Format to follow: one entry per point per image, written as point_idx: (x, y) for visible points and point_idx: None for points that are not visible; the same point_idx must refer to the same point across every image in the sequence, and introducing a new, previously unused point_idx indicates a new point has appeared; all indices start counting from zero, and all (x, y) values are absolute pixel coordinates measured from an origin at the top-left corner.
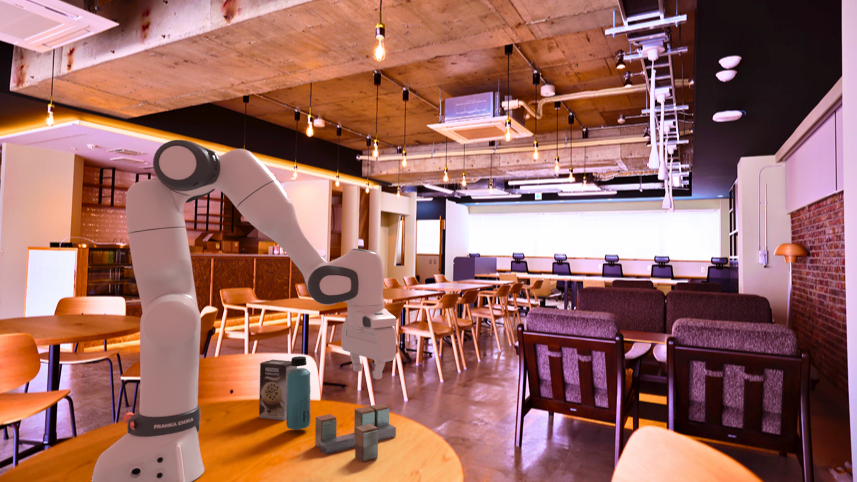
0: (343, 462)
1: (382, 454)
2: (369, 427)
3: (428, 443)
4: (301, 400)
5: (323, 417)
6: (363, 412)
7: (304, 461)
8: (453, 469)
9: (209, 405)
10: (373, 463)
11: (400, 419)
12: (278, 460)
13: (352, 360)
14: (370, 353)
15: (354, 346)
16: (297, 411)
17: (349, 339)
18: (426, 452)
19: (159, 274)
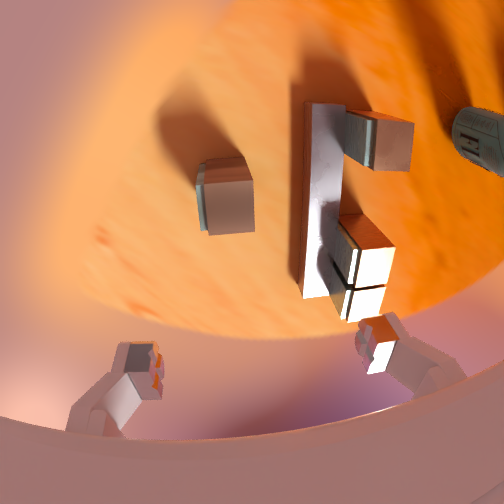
0: (231, 119)
1: None
2: (223, 216)
3: (222, 318)
4: (501, 143)
5: (397, 139)
6: (360, 256)
7: (297, 44)
8: (91, 296)
9: None
10: (184, 179)
11: None
12: (339, 4)
13: (421, 350)
14: (92, 473)
15: (409, 460)
16: (484, 126)
17: (498, 461)
18: (182, 296)
19: None
